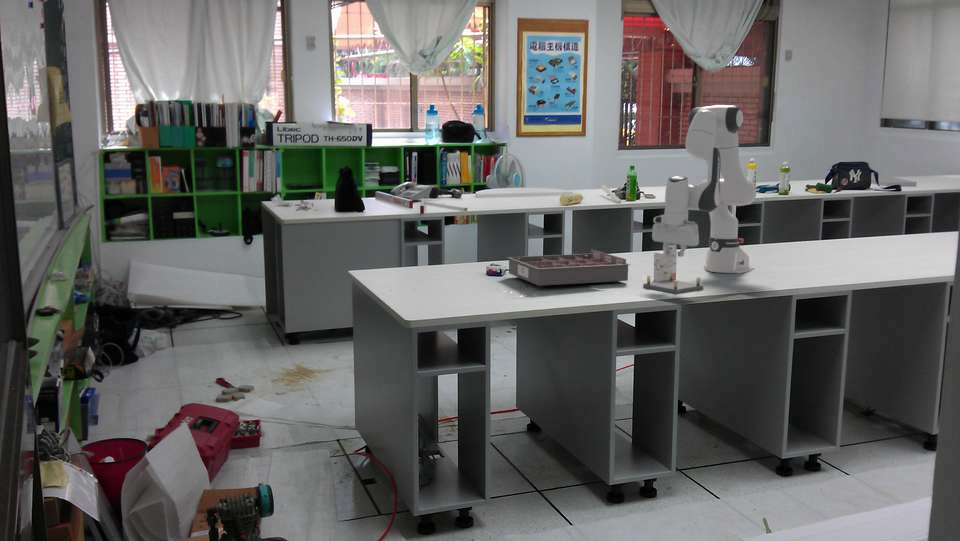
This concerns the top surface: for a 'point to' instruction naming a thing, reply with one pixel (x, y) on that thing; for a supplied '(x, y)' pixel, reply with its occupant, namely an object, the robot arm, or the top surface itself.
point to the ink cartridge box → (665, 264)
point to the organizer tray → (569, 268)
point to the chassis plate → (673, 285)
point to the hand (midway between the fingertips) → (674, 255)
